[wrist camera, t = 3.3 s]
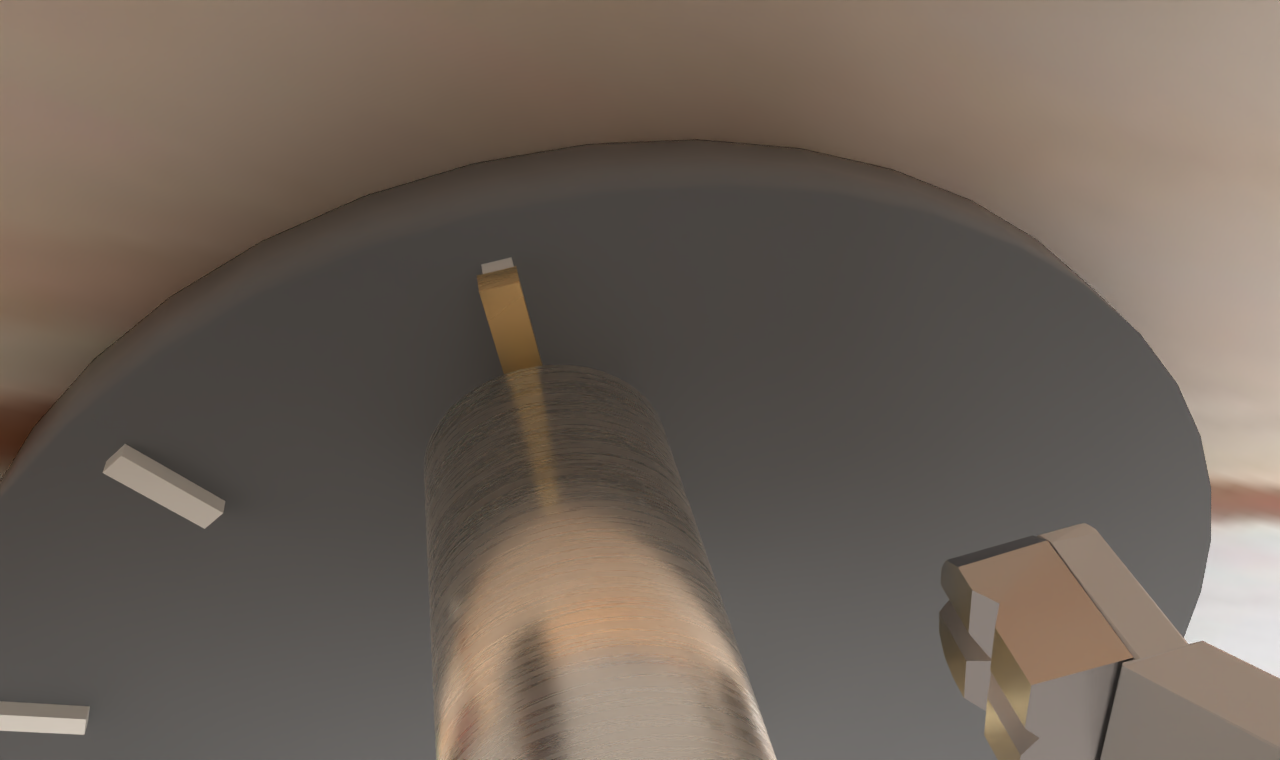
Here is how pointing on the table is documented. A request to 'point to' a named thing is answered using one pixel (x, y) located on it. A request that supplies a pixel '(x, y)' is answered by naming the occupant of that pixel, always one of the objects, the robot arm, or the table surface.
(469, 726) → the brass lever
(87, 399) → the dial plate
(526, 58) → the table surface
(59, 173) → the table surface
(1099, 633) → the robot arm
